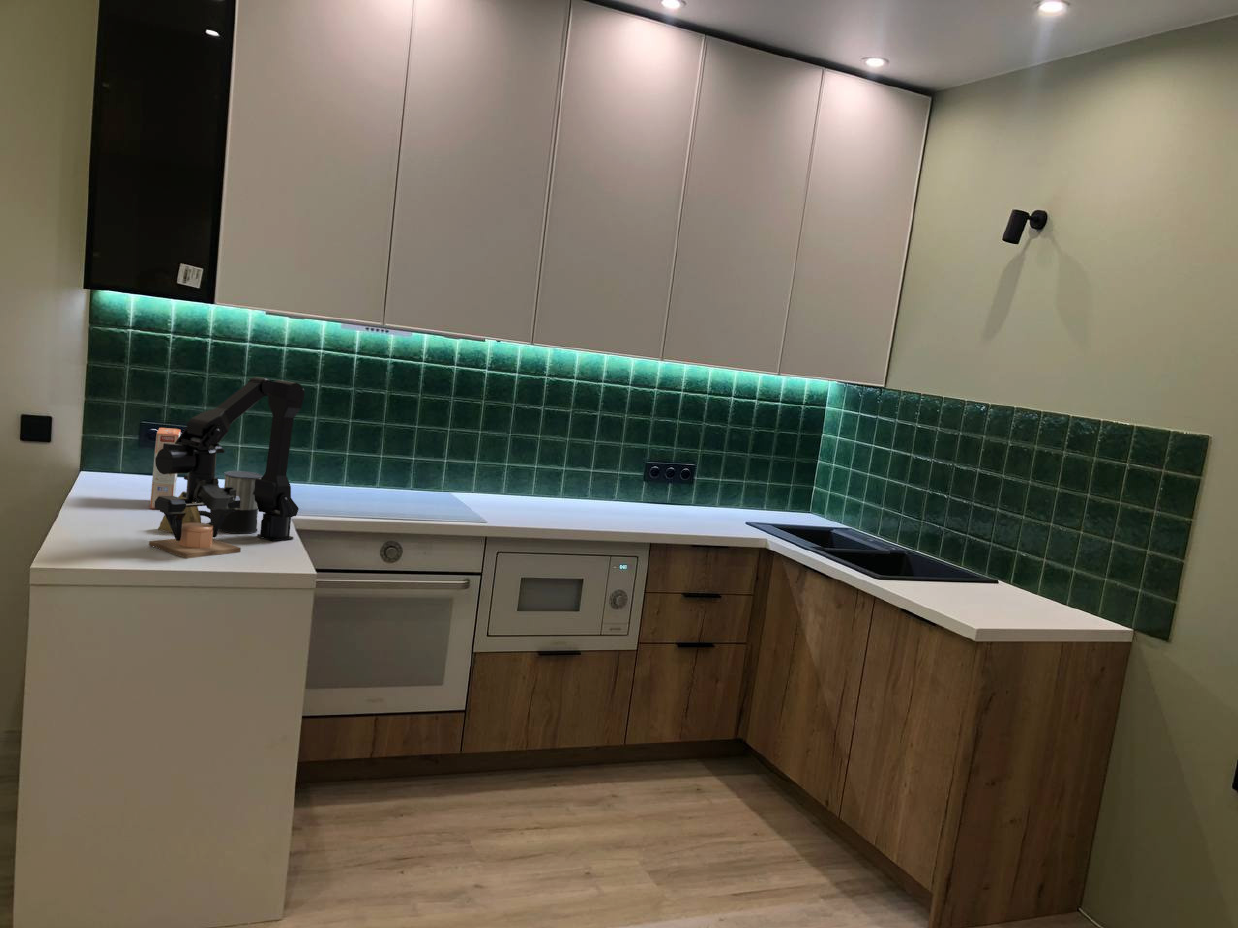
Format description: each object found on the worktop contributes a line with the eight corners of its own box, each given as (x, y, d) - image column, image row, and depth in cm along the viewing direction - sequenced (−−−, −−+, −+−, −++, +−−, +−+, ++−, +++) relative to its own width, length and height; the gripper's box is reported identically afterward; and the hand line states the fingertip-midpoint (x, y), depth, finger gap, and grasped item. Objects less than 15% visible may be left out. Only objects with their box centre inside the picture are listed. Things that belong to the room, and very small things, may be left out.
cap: (199, 540, 234) (201, 521, 233) (217, 546, 230) (218, 527, 230) (174, 542, 228) (175, 523, 228) (191, 548, 224) (193, 529, 224)
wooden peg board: (203, 539, 239) (204, 523, 238) (240, 551, 231) (241, 535, 231) (149, 545, 227) (150, 528, 226) (186, 558, 220) (187, 540, 219)
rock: (215, 527, 243) (204, 514, 251) (196, 501, 239) (186, 488, 246) (175, 553, 239) (165, 539, 247) (155, 527, 235) (145, 513, 242)
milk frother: (263, 534, 254) (268, 477, 252) (200, 535, 243) (205, 476, 242) (241, 522, 264) (246, 467, 263) (180, 523, 253) (185, 466, 252)
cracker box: (173, 510, 268) (179, 434, 266) (149, 509, 266) (155, 432, 264) (175, 501, 281) (181, 428, 279) (152, 500, 279) (158, 426, 277)
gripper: (186, 479, 215) (180, 550, 217) (258, 476, 231) (252, 542, 233) (155, 471, 221) (150, 539, 223) (228, 469, 237) (222, 533, 238)
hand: (196, 538), depth 229 cm, fingers open, 9 cm apart
